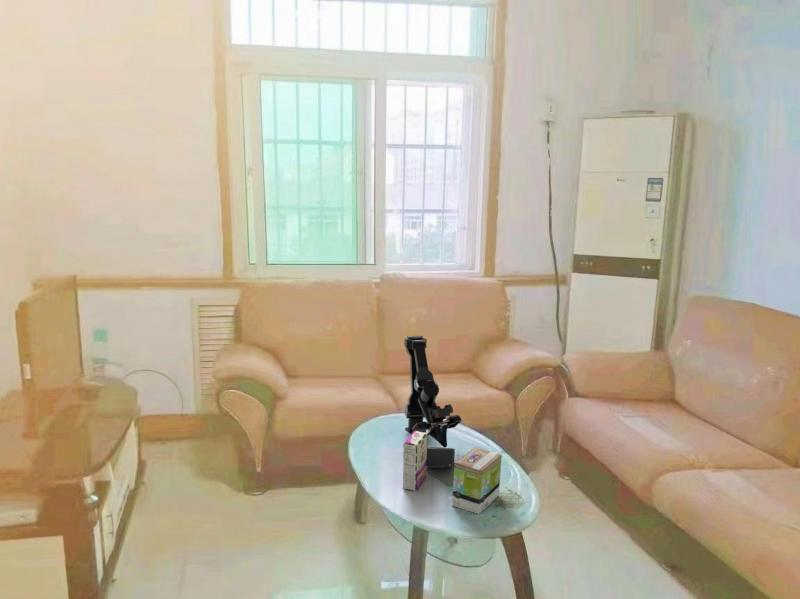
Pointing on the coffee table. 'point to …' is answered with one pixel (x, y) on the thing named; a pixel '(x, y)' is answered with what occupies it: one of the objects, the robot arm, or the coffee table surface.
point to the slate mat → (444, 475)
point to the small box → (440, 457)
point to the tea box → (476, 480)
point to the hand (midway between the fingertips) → (445, 446)
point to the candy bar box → (415, 460)
